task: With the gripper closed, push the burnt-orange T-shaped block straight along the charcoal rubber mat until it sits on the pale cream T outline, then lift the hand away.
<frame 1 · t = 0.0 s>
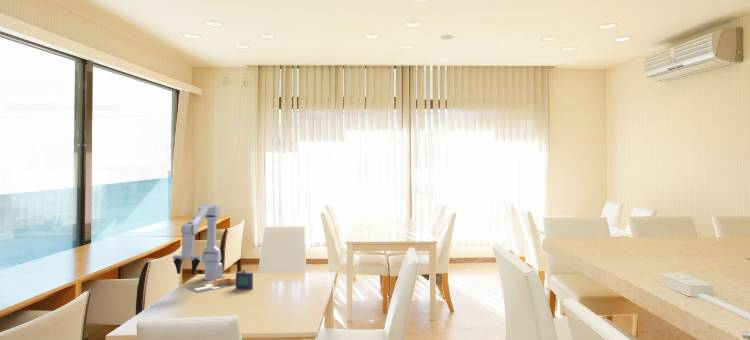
hand: (185, 273, 236), 11 cm above the table, tool pointing down, fingers open, 7 cm apart
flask: (244, 289, 246), on the table
mat: (218, 285, 252), on the table
t block: (224, 283, 255), resting on mat
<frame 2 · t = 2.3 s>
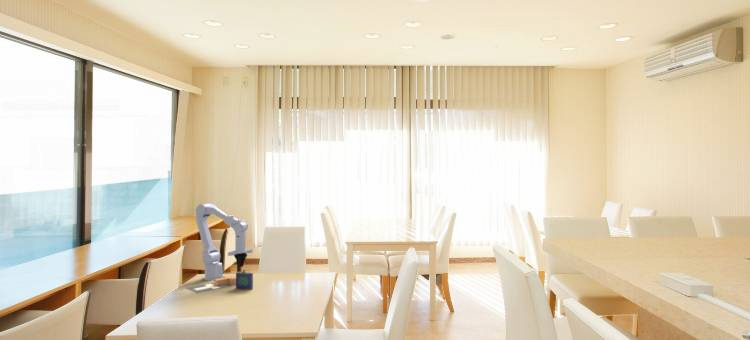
hand: (240, 266, 262), 8 cm above the table, tool pointing down, fingers closed
nothing on the table moved.
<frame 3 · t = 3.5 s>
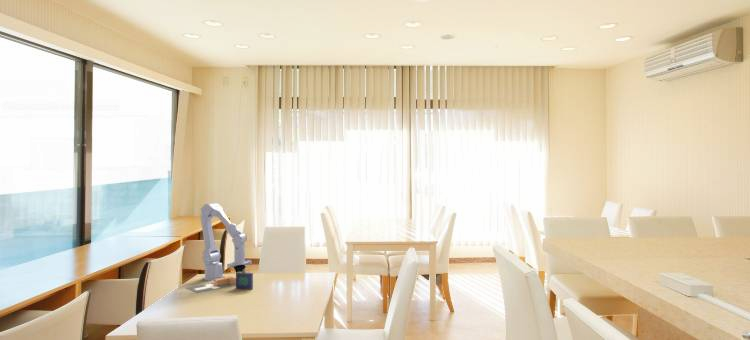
hand: (239, 278, 262), 2 cm above the table, tool pointing down, fingers closed
nothing on the table moved.
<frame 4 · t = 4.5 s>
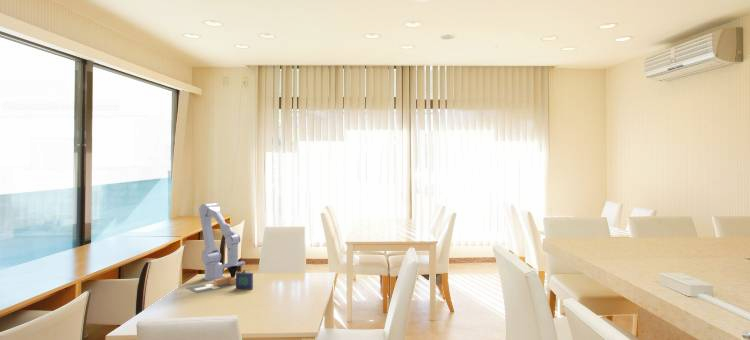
hand: (232, 279, 259), 2 cm above the table, tool pointing down, fingers closed
t block: (223, 283, 255), resting on mat, touching gripper
everything else where it was.
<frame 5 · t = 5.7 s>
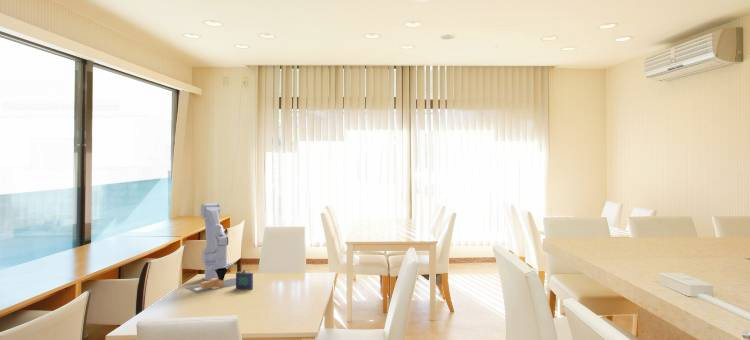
hand: (221, 281, 253), 2 cm above the table, tool pointing down, fingers closed
t block: (210, 286, 249), resting on mat, touching gripper
everything else where it was.
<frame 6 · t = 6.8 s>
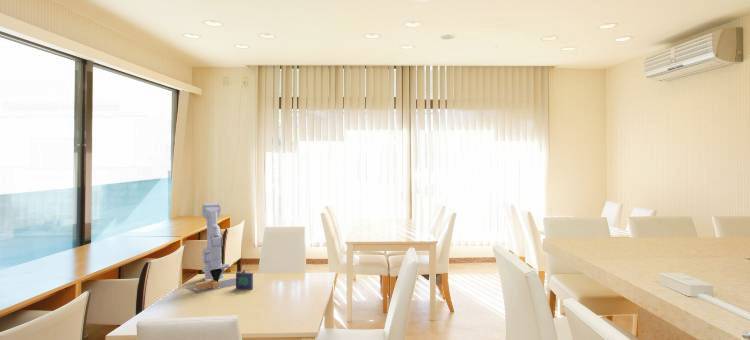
hand: (215, 282, 251), 2 cm above the table, tool pointing down, fingers closed
t block: (205, 287, 247), resting on mat, touching gripper
everything else where it was.
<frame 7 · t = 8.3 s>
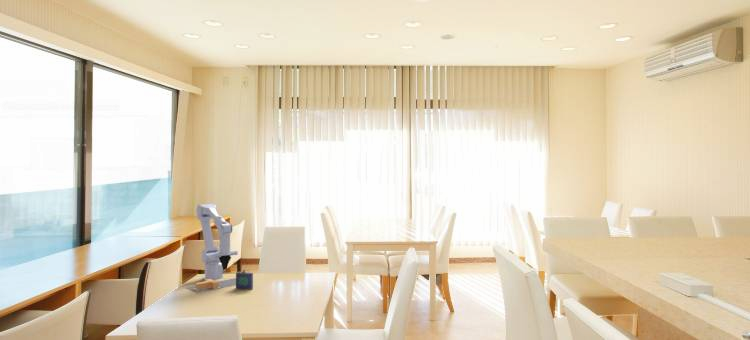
hand: (224, 269, 255), 8 cm above the table, tool pointing down, fingers closed
t block: (205, 287, 247), resting on mat
everything else where it was.
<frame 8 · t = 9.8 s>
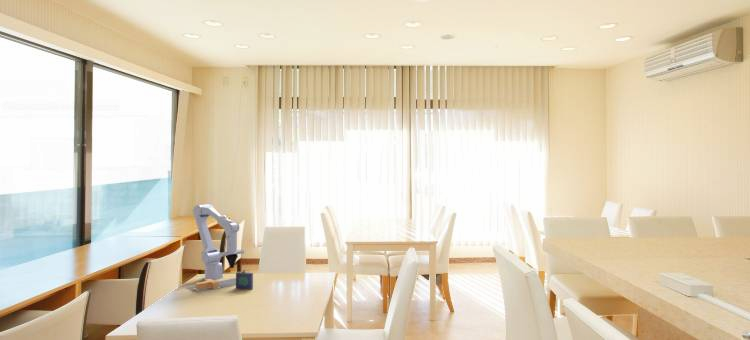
hand: (231, 267, 259), 8 cm above the table, tool pointing down, fingers closed
nothing on the table moved.
at the end: t block 0.2 cm from the target spot, resting on mat; t block tilted 0°; t block moved 10.9 cm from its start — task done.
